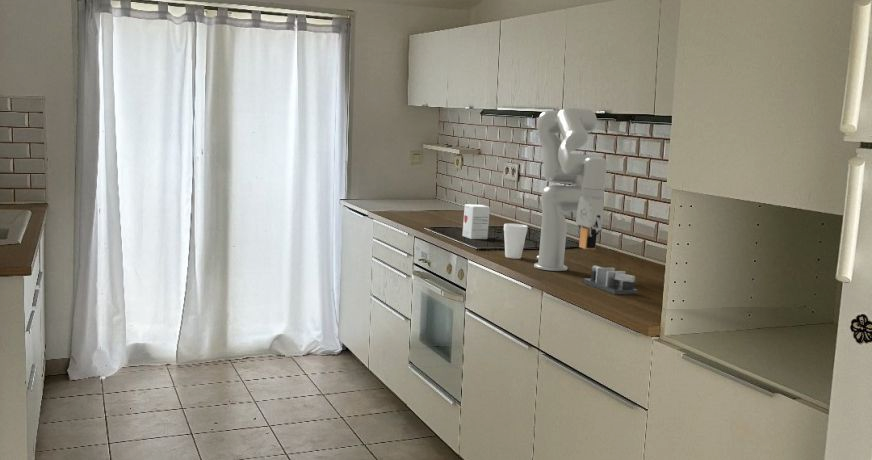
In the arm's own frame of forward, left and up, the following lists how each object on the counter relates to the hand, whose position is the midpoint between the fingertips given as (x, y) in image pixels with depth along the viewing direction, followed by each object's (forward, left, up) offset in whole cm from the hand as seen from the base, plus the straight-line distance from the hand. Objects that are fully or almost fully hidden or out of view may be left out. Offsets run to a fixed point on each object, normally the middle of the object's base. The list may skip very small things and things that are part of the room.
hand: (587, 246), depth 309 cm
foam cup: (-57, +2, -14) cm, 59 cm away
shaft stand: (+5, +7, -14) cm, 16 cm away
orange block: (0, 0, -1) cm, 1 cm away
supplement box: (-109, +9, -14) cm, 111 cm away
